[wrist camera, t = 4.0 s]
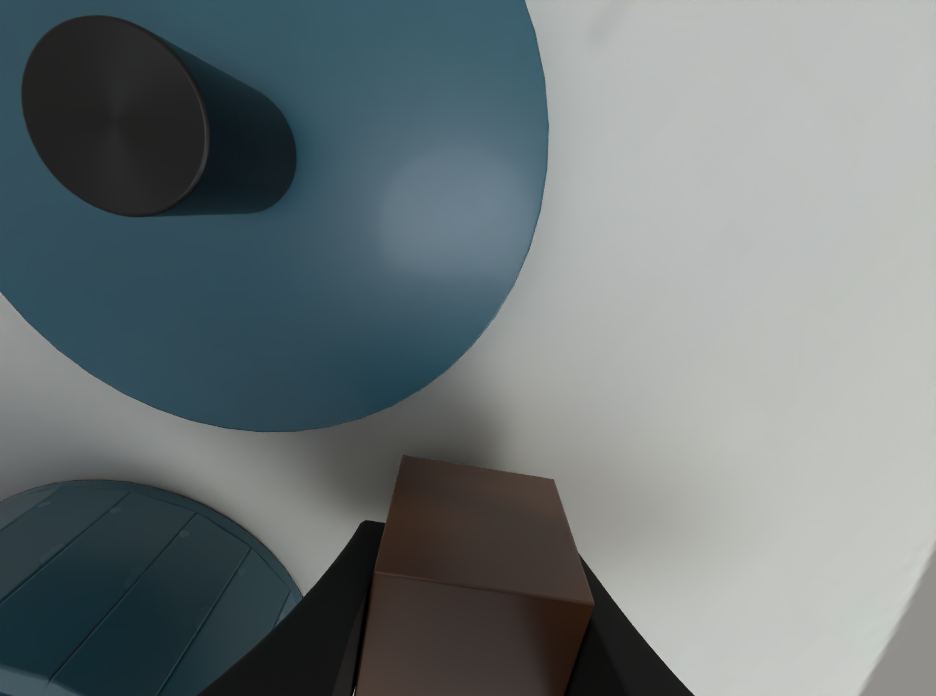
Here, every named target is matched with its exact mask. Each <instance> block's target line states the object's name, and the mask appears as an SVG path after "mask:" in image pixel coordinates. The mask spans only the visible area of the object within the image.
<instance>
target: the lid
mask: <svg viewBox="0 0 936 696" xmlns="http://www.w3.org/2000/svg"><path fill="white" fill-rule="evenodd" d="M548 132H549V122H548V110H547V98H546V87H545V77H544V73H543V68H542V63H541V58H540V53H539V48H538V43H537V38H536V34H535V30H534V27H533V24H532V21H531V18H530V15H529V12H528V9H527V6H526V3H525V0H0V292H1V293H2V294H3V295H4V296H5V297H6V299H7V300H8V301H9V302H10V303H11V304H12V305H13V306H14V308H15V309H16V310H17V311H18V312H19V313H20V314H21V315H22V316H23V318H24V319H25V320H26V321H27V322H28V323H29V324H30V325H31V326H32V327H33V328H35V329H36V330H37V331H38V332H39V333H40V334H41V335H42V336H43V337H44V338H46V339H47V340H48V341H49V342H50V343H51V344H52V345H53V346H54V347H55V348H56V349H58V350H59V351H60V352H62V353H63V354H64V355H66V356H67V357H68V358H70V359H71V360H72V361H74V362H75V363H76V364H78V365H79V366H80V367H82V368H83V369H84V370H86V371H87V372H88V373H90V374H91V375H93V376H95V377H97V378H98V379H100V380H102V381H103V382H105V383H107V384H108V385H110V386H112V387H113V388H115V389H117V390H118V391H120V392H122V393H124V394H126V395H128V396H130V397H132V398H134V399H136V400H139V401H141V402H143V403H145V404H147V405H149V406H152V407H154V408H156V409H159V410H161V411H164V412H167V413H170V414H173V415H176V416H179V417H182V418H185V419H188V420H191V421H195V422H200V423H204V424H209V425H213V426H218V427H222V428H228V429H238V430H247V431H256V432H295V431H302V430H310V429H317V428H325V427H330V426H334V425H338V424H342V423H346V422H349V421H353V420H357V419H361V418H363V417H366V416H368V415H371V414H373V413H376V412H378V411H381V410H383V409H386V408H388V407H391V406H393V405H394V404H396V403H398V402H400V401H402V400H403V399H405V398H407V397H409V396H410V395H412V394H414V393H416V392H418V391H419V390H421V389H422V388H424V387H425V386H426V385H428V384H429V383H430V382H432V381H433V380H434V379H436V378H437V377H438V376H440V375H441V374H442V373H444V372H445V371H446V370H448V369H449V368H450V367H451V366H452V365H453V364H454V363H455V362H456V361H457V360H458V359H459V358H460V357H461V356H462V355H463V354H464V353H465V352H466V351H467V350H468V349H469V348H470V347H471V346H472V345H473V344H474V343H475V342H476V340H477V339H478V338H479V337H480V335H481V334H482V333H483V332H484V330H485V329H486V328H487V326H488V325H489V324H490V323H491V321H492V320H493V319H494V318H495V316H496V314H497V313H498V311H499V309H500V308H501V306H502V304H503V303H504V301H505V299H506V298H507V296H508V294H509V293H510V291H511V289H512V288H513V286H514V284H515V282H516V279H517V277H518V275H519V272H520V270H521V268H522V265H523V263H524V261H525V258H526V256H527V254H528V251H529V249H530V245H531V242H532V239H533V235H534V232H535V228H536V225H537V221H538V218H539V214H540V211H541V205H542V198H543V192H544V186H545V180H546V173H547V160H548Z"/></svg>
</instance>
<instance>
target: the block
mask: <svg viewBox="0 0 936 696" xmlns="http://www.w3.org/2000/svg"><path fill="white" fill-rule="evenodd" d="M593 608H594V600H593V597H592V594H591V591H590V588H589V585H588V582H587V579H586V576H585V573H584V570H583V567H582V564H581V561H580V558H579V554H578V551H577V548H576V545H575V542H574V539H573V536H572V533H571V530H570V527H569V524H568V521H567V518H566V515H565V512H564V509H563V506H562V503H561V500H560V497H559V494H558V491H557V487H556V484H555V481H554V480H553V479H548V478H542V477H536V476H530V475H524V474H517V473H511V472H505V471H499V470H493V469H486V468H480V467H474V466H468V465H462V464H455V463H449V462H443V461H437V460H431V459H424V458H418V457H412V456H406V455H403V456H402V459H401V463H400V467H399V471H398V475H397V479H396V483H395V487H394V491H393V495H392V499H391V503H390V507H389V511H388V515H387V520H386V524H385V528H384V532H383V536H382V540H381V544H380V548H379V552H378V556H377V560H376V564H375V568H374V572H373V578H372V584H371V591H370V597H369V604H368V610H367V616H366V623H365V629H364V635H363V642H362V648H361V654H360V661H359V667H358V674H357V680H356V686H355V693H354V696H564V695H565V692H566V689H567V686H568V683H569V680H570V677H571V674H572V671H573V668H574V665H575V662H576V659H577V656H578V653H579V650H580V647H581V644H582V641H583V638H584V635H585V632H586V629H587V626H588V623H589V620H590V617H591V614H592V611H593Z"/></svg>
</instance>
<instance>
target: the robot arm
mask: <svg viewBox="0 0 936 696" xmlns="http://www.w3.org/2000/svg"><path fill="white" fill-rule="evenodd" d="M385 524H386V523H382V522H375V521H369V520H365V521H363V522H362V523H360V525H359V527H358V528H357V530H356V532H355V533H354V535H353V536H352V538H351V539H350V541H349V542H348V544H347V545H346V547H345V548H344V549H343V551H342V552H341V553H340V555H339V556H338V557H337V559H336V560H335V561H334V562H333V564H332V565H331V566H330V567H329V569H328V570H327V571H326V572H325V573H324V575H323V576H322V577H321V578H320V580H319V581H318V582H317V583H316V584H315V585H314V587H313V588H312V589H311V590H310V591H309V592H308V593H307V594H306V595H305V596H304V598H303V599H302V600H301V601H300V602H299V603H298V604H297V605H296V606H295V607H294V608H293V609H292V611H291V612H290V613H289V614H288V615H287V616H286V617H285V618H284V619H283V620H282V621H281V622H280V623H279V624H278V625H277V626H276V627H275V628H274V629H273V630H272V631H271V632H270V633H269V634H267V635H266V636H265V637H264V638H263V639H262V640H261V641H260V642H259V643H258V644H257V645H256V646H255V647H253V648H252V649H251V650H250V651H249V652H248V653H247V654H245V655H244V656H243V657H242V658H241V659H240V660H238V661H237V662H236V663H235V664H234V665H233V666H231V667H230V668H229V669H228V670H227V671H226V672H224V673H223V674H222V675H221V676H220V677H219V678H217V679H216V680H215V681H214V682H212V683H211V684H210V685H209V686H207V687H206V688H205V689H204V690H202V691H201V692H200V693H198V694H197V695H196V696H353V692H354V689H355V686H356V680H357V674H358V667H359V661H360V654H361V648H362V642H363V635H364V629H365V623H366V616H367V610H368V604H369V597H370V591H371V584H372V578H373V572H374V568H375V564H376V560H377V556H378V552H379V548H380V544H381V540H382V536H383V532H384V528H385ZM578 554H579V553H578ZM579 558H580V561H581V564H582V567H583V570H584V573H585V576H586V579H587V582H588V585H589V588H590V591H591V594H592V597H593V600H594V608H593V611H592V614H591V617H590V620H589V623H588V626H587V629H586V632H585V635H584V638H583V641H582V644H581V647H580V650H579V653H578V656H577V659H576V662H575V665H574V668H573V671H572V674H571V677H570V680H569V683H568V686H567V689H566V692H565V695H564V696H694V695H693V694H692V693H691V692H690V691H689V690H688V688H687V687H686V686H685V685H684V684H683V683H682V682H681V681H680V680H679V679H678V678H677V677H676V676H675V675H674V673H673V672H672V671H671V670H670V669H669V668H668V667H667V665H666V664H665V663H664V662H663V661H662V660H661V658H660V657H659V656H658V655H657V654H656V653H655V652H654V650H653V649H652V648H651V647H650V646H649V645H648V643H647V642H646V641H645V640H644V638H643V637H642V636H641V635H640V634H639V632H638V631H637V630H636V629H635V627H634V626H633V625H632V624H631V622H630V621H629V620H628V619H627V617H626V616H625V615H624V613H623V612H622V611H621V610H620V608H619V607H618V606H617V604H616V603H615V602H614V600H613V599H612V598H611V596H610V595H609V594H608V592H607V591H606V590H605V588H604V587H603V586H602V584H601V583H600V581H599V580H598V579H597V577H596V576H595V575H594V573H593V572H592V571H591V569H590V568H589V566H588V565H587V564H586V562H585V561H584V560H583V558H582V557H581V556H580V554H579Z"/></svg>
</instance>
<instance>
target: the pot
mask: <svg viewBox="0 0 936 696" xmlns="http://www.w3.org/2000/svg"><path fill="white" fill-rule="evenodd" d="M302 599H303V598H302V596H301V594H300V591H299V589H298V588H297V586H296V585H295V583H294V581H293V580H292V578H291V577H290V575H289V574H288V572H287V571H286V570H285V568H284V567H283V566H282V565H281V564H280V563H279V561H278V560H277V559H276V558H275V557H274V556H273V555H272V553H271V552H270V551H269V550H268V549H266V548H265V547H264V546H263V545H262V544H261V543H260V542H259V541H258V540H256V539H255V538H254V537H253V536H252V535H251V534H249V533H248V532H246V531H245V530H244V529H242V528H241V527H240V526H238V525H237V524H235V523H234V522H233V521H231V520H229V519H228V518H226V517H224V516H222V515H221V514H219V513H217V512H215V511H214V510H212V509H210V508H208V507H206V506H204V505H201V504H199V503H197V502H195V501H192V500H190V499H188V498H185V497H183V496H180V495H177V494H174V493H170V492H167V491H164V490H161V489H158V488H153V487H149V486H144V485H139V484H134V483H128V482H118V481H108V480H76V481H68V482H61V483H53V484H48V485H45V486H41V487H37V488H33V489H29V490H26V491H24V492H21V493H19V494H17V495H14V496H12V497H10V498H7V499H5V500H3V501H2V502H0V696H196V695H197V694H198V693H200V692H201V691H202V690H204V689H205V688H206V687H207V686H209V685H210V684H211V683H212V682H214V681H215V680H216V679H217V678H219V677H220V676H221V675H222V674H223V673H224V672H226V671H227V670H228V669H229V668H230V667H231V666H233V665H234V664H235V663H236V662H237V661H238V660H240V659H241V658H242V657H243V656H244V655H245V654H247V653H248V652H249V651H250V650H251V649H252V648H253V647H255V646H256V645H257V644H258V643H259V642H260V641H261V640H262V639H263V638H264V637H265V636H266V635H267V634H269V633H270V632H271V631H272V630H273V629H274V628H275V627H276V626H277V625H278V624H279V623H280V622H281V621H282V620H283V619H284V618H285V617H286V616H287V615H288V614H289V613H290V612H291V611H292V609H293V608H294V607H295V606H296V605H297V604H298V603H299V602H300V601H301V600H302Z"/></svg>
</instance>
